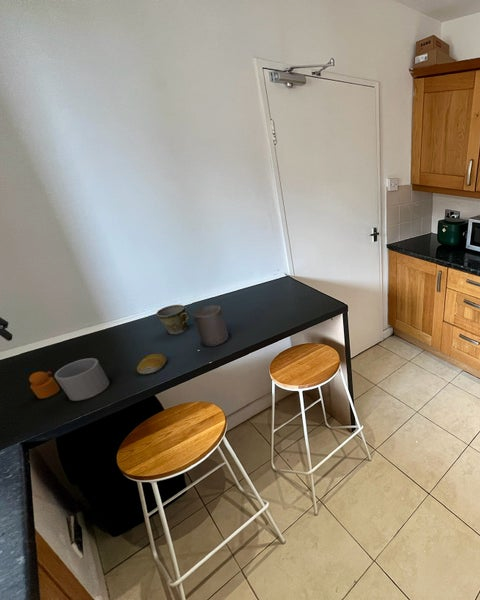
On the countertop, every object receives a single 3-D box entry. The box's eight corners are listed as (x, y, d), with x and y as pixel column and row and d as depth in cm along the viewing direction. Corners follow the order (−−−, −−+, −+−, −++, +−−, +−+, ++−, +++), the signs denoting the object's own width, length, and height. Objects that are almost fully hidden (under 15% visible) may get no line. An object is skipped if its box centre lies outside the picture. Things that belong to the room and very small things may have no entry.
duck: (45, 399, 100) (31, 379, 96) (33, 397, 101) (18, 377, 97) (65, 387, 105) (53, 367, 101) (53, 385, 106) (41, 365, 102)
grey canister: (197, 342, 128) (186, 310, 121) (220, 330, 136) (210, 300, 129) (211, 349, 124) (200, 316, 117) (234, 337, 131) (225, 305, 124)
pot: (85, 402, 99) (71, 381, 95) (60, 398, 101) (45, 376, 96) (117, 381, 108) (105, 360, 103) (93, 377, 109) (81, 356, 105)
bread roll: (170, 357, 119) (166, 348, 117) (161, 372, 112) (157, 363, 110) (144, 361, 117) (140, 352, 115) (134, 376, 110) (129, 367, 108)
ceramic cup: (158, 335, 133) (150, 315, 128) (176, 323, 141) (169, 303, 137) (186, 337, 131) (178, 317, 126) (203, 325, 140) (196, 305, 135)
